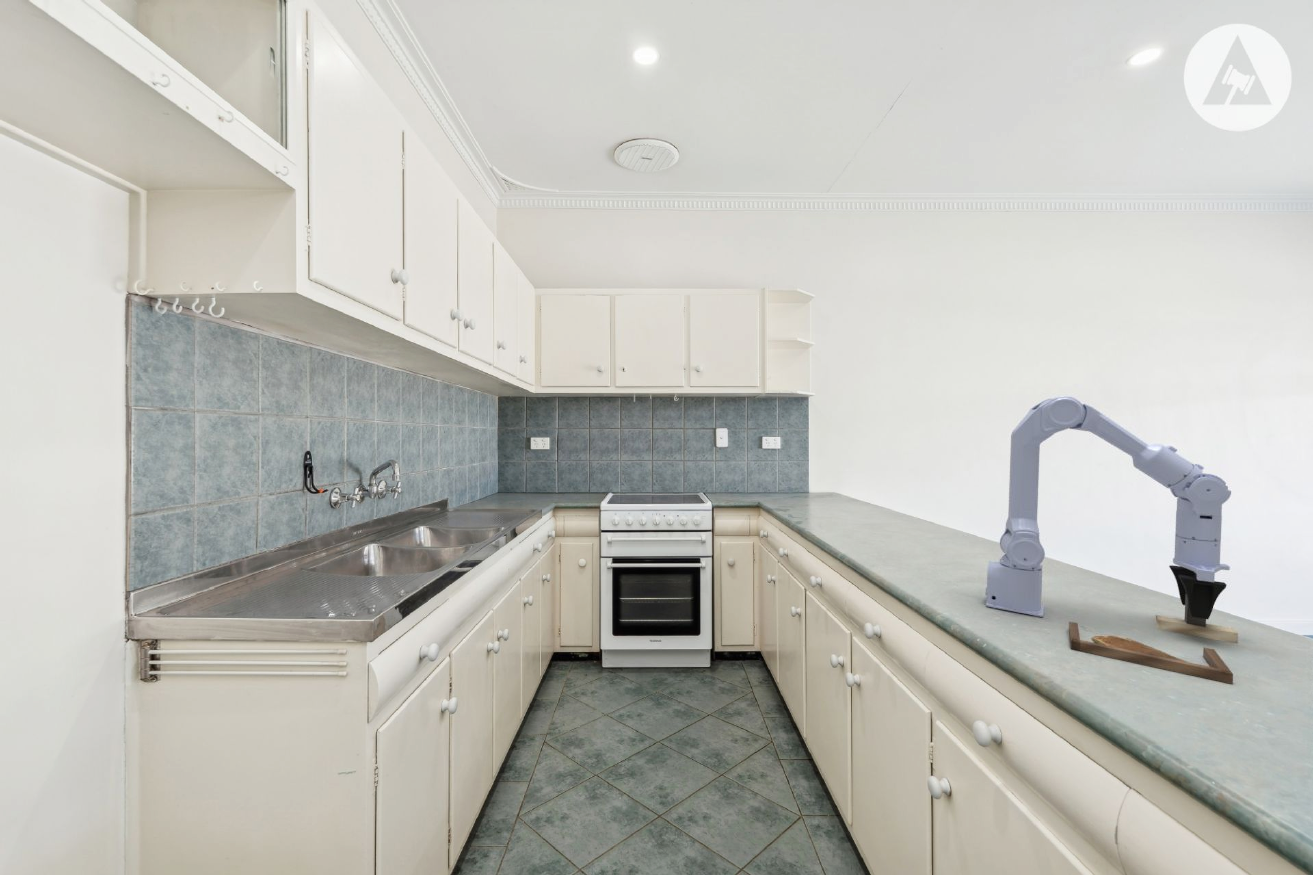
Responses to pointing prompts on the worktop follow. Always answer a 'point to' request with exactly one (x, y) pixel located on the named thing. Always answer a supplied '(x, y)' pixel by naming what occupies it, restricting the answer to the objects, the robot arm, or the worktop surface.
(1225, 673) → the walnut frame
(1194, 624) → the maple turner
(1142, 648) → the shard
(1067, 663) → the worktop surface
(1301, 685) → the worktop surface
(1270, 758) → the worktop surface
